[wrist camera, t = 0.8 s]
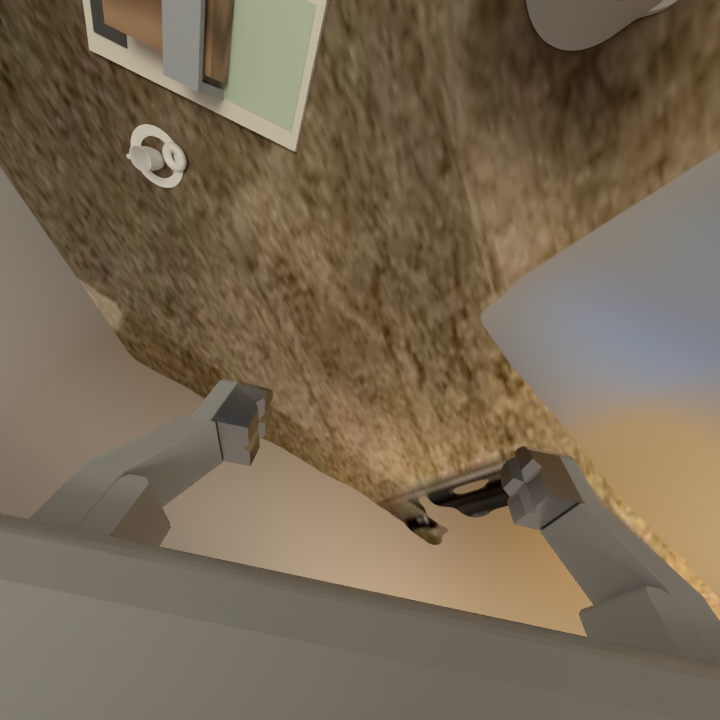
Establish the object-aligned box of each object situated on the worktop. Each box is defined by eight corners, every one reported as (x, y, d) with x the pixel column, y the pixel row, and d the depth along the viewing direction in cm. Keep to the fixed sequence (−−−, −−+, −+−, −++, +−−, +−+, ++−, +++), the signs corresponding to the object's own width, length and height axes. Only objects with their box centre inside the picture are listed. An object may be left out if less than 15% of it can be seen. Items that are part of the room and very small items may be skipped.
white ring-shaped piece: (193, 146, 42) (175, 145, 39) (187, 199, 47) (171, 203, 44) (133, 112, 41) (109, 108, 38) (133, 171, 45) (112, 172, 42)
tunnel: (197, -67, 30) (158, -110, 25) (234, -46, 30) (203, -83, 26) (194, 84, 37) (163, 74, 32) (223, 99, 38) (198, 91, 33)
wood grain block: (123, -84, 30) (89, -113, 26) (235, -21, 31) (216, -41, 28) (131, 35, 35) (104, 23, 32) (227, 84, 36) (210, 77, 33)
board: (68, -168, 28) (57, -178, 27) (331, -12, 32) (329, -17, 31) (96, 52, 37) (88, 49, 36) (297, 151, 41) (294, 151, 40)
